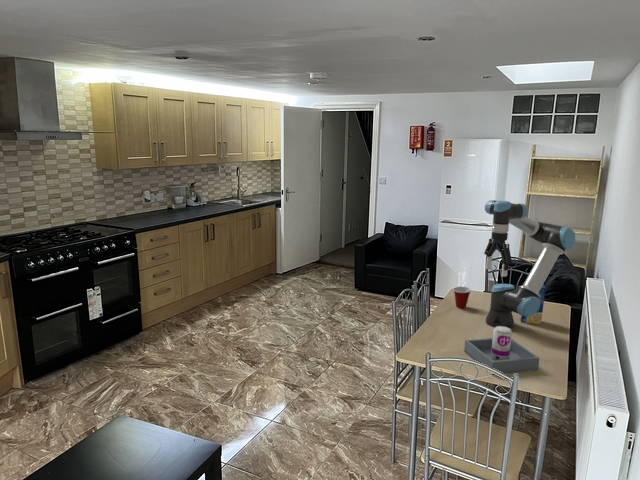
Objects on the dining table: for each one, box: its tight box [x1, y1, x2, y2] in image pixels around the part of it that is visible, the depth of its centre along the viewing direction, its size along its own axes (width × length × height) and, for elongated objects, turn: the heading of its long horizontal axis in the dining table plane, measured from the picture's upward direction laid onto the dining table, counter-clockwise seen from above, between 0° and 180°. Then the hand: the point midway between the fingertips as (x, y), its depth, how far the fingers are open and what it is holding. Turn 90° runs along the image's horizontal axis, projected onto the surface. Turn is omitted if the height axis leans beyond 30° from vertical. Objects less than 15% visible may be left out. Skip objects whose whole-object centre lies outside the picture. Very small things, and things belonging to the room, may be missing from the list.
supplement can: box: [491, 326, 513, 361], centre depth 229 cm, size 8×8×15 cm
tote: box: [463, 337, 540, 374], centre depth 230 cm, size 24×24×6 cm
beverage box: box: [519, 284, 547, 325], centre depth 279 cm, size 7×11×22 cm, turn 72°
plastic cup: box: [452, 286, 472, 309], centre depth 301 cm, size 11×11×12 cm
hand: (496, 272), depth 247 cm, fingers open, 13 cm apart
